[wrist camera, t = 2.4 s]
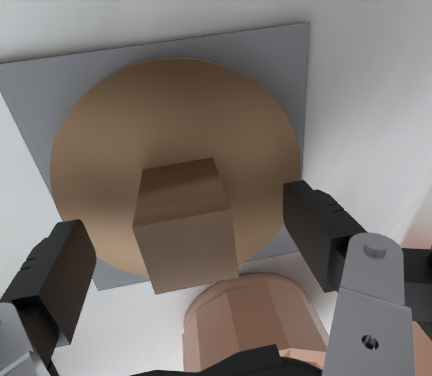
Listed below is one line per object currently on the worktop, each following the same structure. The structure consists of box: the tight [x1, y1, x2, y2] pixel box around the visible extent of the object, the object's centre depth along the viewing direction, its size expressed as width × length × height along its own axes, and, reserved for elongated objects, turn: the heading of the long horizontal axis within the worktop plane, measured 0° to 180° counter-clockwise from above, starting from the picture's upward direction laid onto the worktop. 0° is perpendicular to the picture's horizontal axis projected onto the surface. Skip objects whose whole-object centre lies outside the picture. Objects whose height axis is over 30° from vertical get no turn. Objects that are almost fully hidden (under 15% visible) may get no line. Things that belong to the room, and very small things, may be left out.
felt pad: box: [0, 22, 309, 291], centre depth 13 cm, size 12×12×1 cm
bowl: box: [182, 273, 329, 372], centre depth 18 cm, size 9×9×5 cm
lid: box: [49, 57, 301, 295], centre depth 11 cm, size 11×11×5 cm
